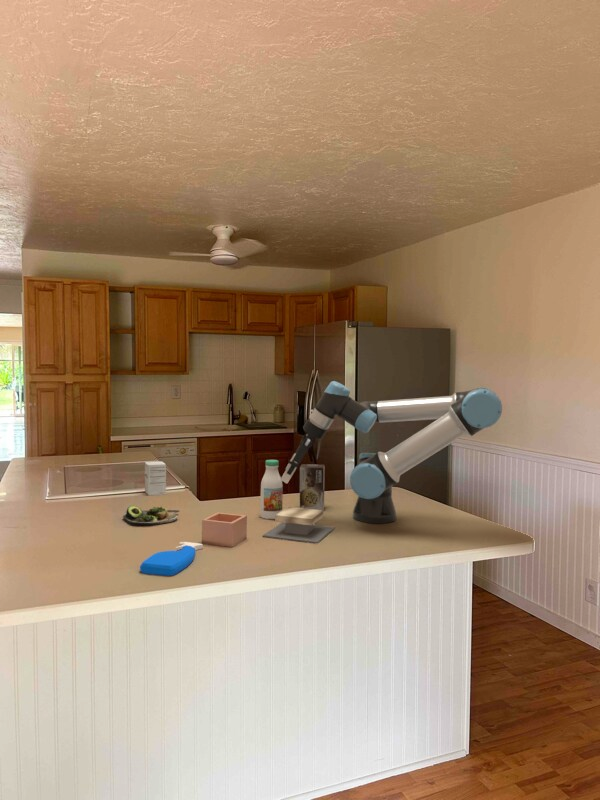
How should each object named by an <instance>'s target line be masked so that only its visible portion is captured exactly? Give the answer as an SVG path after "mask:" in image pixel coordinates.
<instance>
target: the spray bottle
mask: <svg viewBox="0 0 600 800" xmlns="http://www.w3.org/2000/svg"><path fill="white" fill-rule="evenodd" d="M178 544H179V545H178V546H175V548H174V549H175V550H165V551H164V550H163V551H158V552H156V553H154V554H151V556H149V557H147V558H146V559H145V560H143V561H142V562H141V564H140V567H139V570H140V572H141V573H143V574H146V575H154V576H163V577H166V576H167V577H172V576H174V575H177V574H179V573H180V572H181V571H183V570H185V569H186V568H188V566H190V565H191V563H192V562H193V560H194V559H195V556H196V551H198V550H202V549H204V546H203V545H204V543H198V542H189V541H179V543H178ZM177 549H180V550H177Z"/></svg>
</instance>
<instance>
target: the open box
mask: <svg viewBox="0 0 600 800" xmlns="http://www.w3.org/2000/svg"><path fill="white" fill-rule="evenodd" d="M247 526H248V516H247V515H244V514H235V513H227V512H226V513H225V512H216V513H214V514H212V515H210V516H207V517H206V518H205V517H204V518H203V519H201V544H203V545H204V544H205V545H213V546H222V547H228V548H233V547H236V545H238V544H239V543H241V542H243V541H244V540H246V539H247V536H248V535H247V532H248V527H247Z"/></svg>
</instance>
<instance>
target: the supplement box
mask: <svg viewBox="0 0 600 800" xmlns="http://www.w3.org/2000/svg"><path fill="white" fill-rule="evenodd" d="M144 493H146V495H148V496H161V495H166V494H167V464H166V463H165V462H164V461H162V460H161V461H160V460H159V461H158V460H156V461H145V462H144Z"/></svg>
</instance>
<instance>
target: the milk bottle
mask: <svg viewBox="0 0 600 800" xmlns="http://www.w3.org/2000/svg"><path fill="white" fill-rule="evenodd" d="M279 463H280V462H279V460H277V459H266V460H265V463H264V464H265V471H264V474H263V477H262V479H261V482H260V500H259V501H260V502H259V503H260V506H259V507H260V509H259V510H260V511H259V512H260V515H259V516H260V517H261V518H262V519H267V520H275V515H276V514H278V513H280V512H281V511H283V497H284V496H283V495H284V494H283V487H284V486H283V481H281V480H280V479H281V477H282V476H281V475H280V473H279Z"/></svg>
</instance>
